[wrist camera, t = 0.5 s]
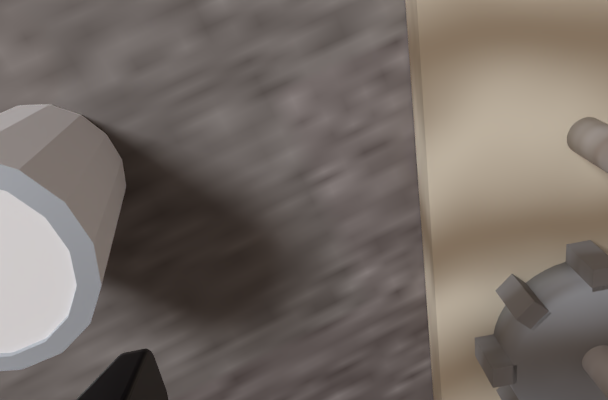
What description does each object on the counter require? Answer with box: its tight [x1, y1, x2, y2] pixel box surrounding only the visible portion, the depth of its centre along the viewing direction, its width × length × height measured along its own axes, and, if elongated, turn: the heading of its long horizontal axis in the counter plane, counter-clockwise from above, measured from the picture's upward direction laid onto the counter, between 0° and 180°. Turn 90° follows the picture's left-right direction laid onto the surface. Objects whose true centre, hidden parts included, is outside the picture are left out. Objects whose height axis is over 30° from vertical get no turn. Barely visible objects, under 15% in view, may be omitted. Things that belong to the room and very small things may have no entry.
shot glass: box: [0, 104, 126, 371], centre depth 18 cm, size 7×7×7 cm
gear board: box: [405, 0, 608, 400], centre depth 22 cm, size 22×12×6 cm, turn 9°
